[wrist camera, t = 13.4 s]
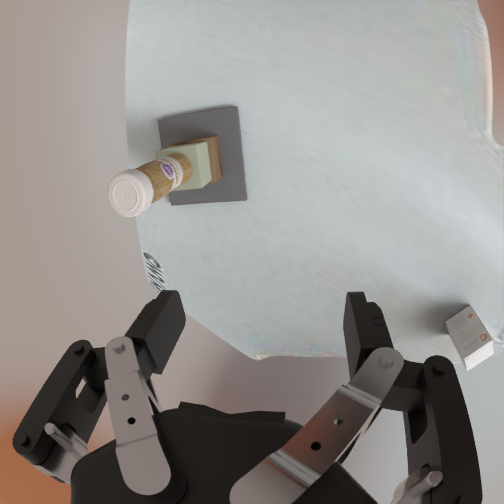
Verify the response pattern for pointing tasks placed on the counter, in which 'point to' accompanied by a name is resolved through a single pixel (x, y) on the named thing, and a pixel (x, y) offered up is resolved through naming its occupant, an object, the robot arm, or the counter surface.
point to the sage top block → (192, 163)
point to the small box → (470, 337)
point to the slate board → (230, 149)
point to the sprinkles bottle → (147, 184)
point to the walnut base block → (213, 154)
